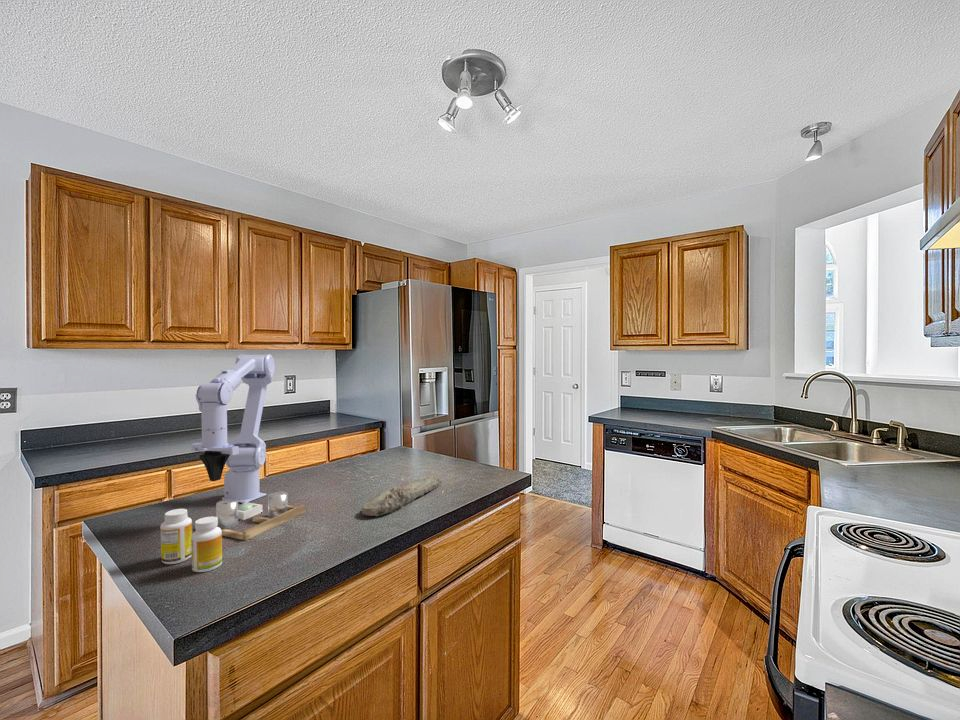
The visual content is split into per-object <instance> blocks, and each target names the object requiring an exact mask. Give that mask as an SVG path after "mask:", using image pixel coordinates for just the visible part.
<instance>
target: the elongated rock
mask: <svg viewBox="0 0 960 720" xmlns="http://www.w3.org/2000/svg"><path fill="white" fill-rule="evenodd" d="M440 484H442V478H440V476H439V475H428V476H422V477H419V478H417V479H415V480H413V481H409V482H407V483H405V484H403V485H401V486H392V487H391V488H389V489H385V490H384V491H383V492H381V493H378V494H376V495H375V496H374V497H372V498H371V499H369V500H368V501H366V502H365V503H364V504H363V505H362V506H361V507H362V508H361V513H362V515H363V516H367V517H380V516H383V515H386V514H390V513H393V512H395V511H398V509H399V510H400V509H404V508H405V507H406V506H407V505H408V504H411V503H412V502H414V501H415V500H416V499H417V498H418V497H421V496H422V497H423V496H424V494H427V493H429V491H430V492H432V491H434V490H436V489H437V488H438V487H440Z"/></svg>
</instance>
